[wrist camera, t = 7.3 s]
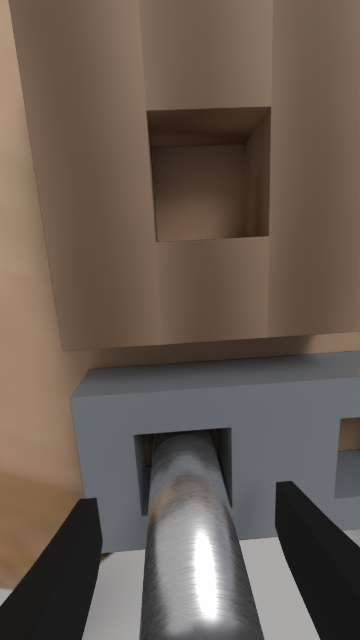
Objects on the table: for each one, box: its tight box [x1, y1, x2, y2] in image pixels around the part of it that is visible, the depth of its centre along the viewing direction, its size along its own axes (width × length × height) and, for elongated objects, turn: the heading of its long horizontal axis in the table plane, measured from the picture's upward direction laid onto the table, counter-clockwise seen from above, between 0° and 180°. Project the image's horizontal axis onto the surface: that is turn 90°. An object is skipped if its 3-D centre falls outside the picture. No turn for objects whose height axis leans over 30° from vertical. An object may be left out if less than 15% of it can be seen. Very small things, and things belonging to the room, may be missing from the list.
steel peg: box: [139, 429, 264, 640], centre depth 11 cm, size 3×3×9 cm
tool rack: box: [70, 351, 360, 553], centre depth 14 cm, size 18×8×3 cm, turn 93°
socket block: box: [9, 0, 360, 351], centre depth 11 cm, size 12×12×3 cm
